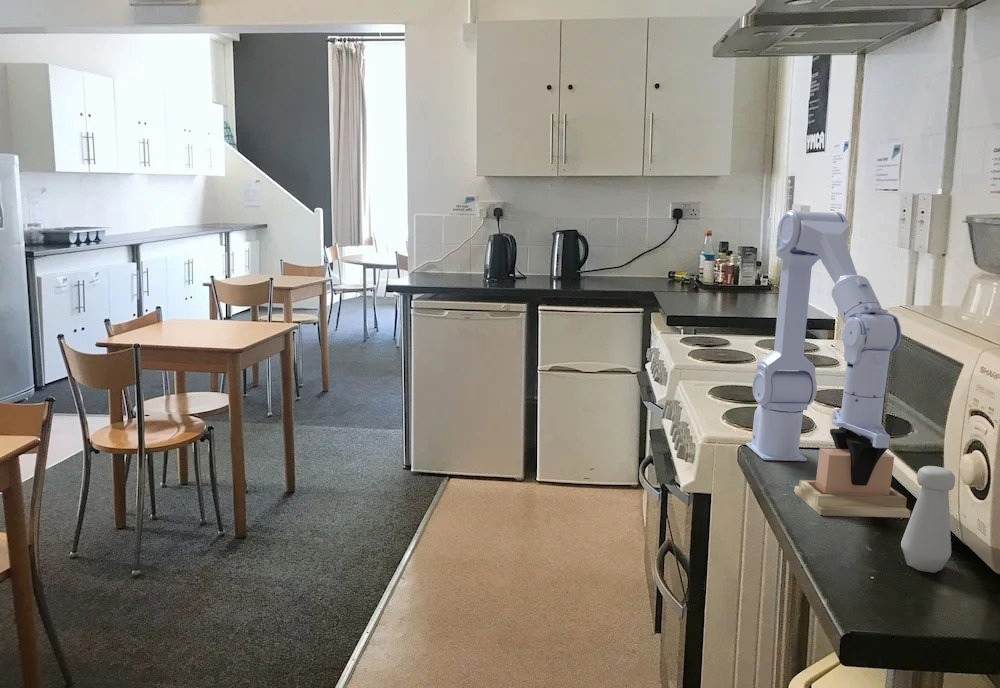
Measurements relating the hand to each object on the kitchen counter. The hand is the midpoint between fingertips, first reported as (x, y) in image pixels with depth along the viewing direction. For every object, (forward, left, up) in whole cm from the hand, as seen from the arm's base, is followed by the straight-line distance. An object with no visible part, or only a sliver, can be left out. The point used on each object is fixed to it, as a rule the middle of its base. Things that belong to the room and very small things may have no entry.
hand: (853, 480), depth 134 cm
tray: (0, 0, -4) cm, 4 cm away
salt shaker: (+22, -1, -4) cm, 22 cm away
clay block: (0, 0, -2) cm, 2 cm away
